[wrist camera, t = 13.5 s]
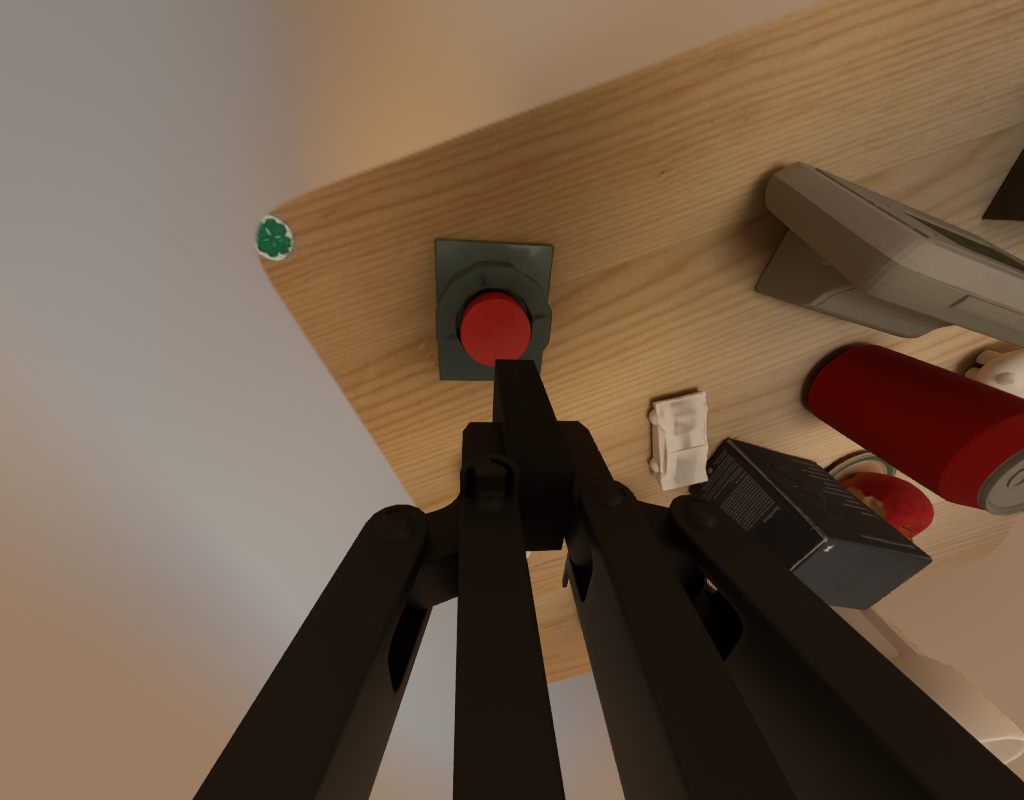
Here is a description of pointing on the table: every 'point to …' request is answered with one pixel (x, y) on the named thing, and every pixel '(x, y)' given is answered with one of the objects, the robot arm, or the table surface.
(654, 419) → the toy car
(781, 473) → the box
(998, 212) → the pillar
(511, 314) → the button
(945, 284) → the digital clock
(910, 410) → the beverage can
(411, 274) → the table surface
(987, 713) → the cup
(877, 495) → the apple
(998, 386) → the toy creature
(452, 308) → the button box
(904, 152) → the table surface
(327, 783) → the robot arm
